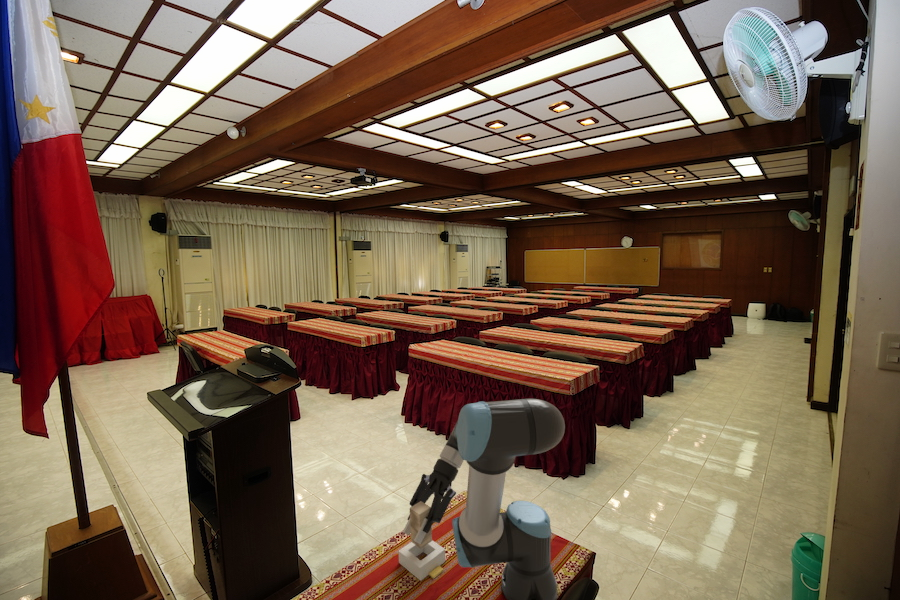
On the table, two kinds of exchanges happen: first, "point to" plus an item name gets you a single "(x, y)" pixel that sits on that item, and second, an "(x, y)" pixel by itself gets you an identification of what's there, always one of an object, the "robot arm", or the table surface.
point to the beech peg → (419, 522)
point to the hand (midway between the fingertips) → (411, 537)
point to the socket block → (426, 565)
